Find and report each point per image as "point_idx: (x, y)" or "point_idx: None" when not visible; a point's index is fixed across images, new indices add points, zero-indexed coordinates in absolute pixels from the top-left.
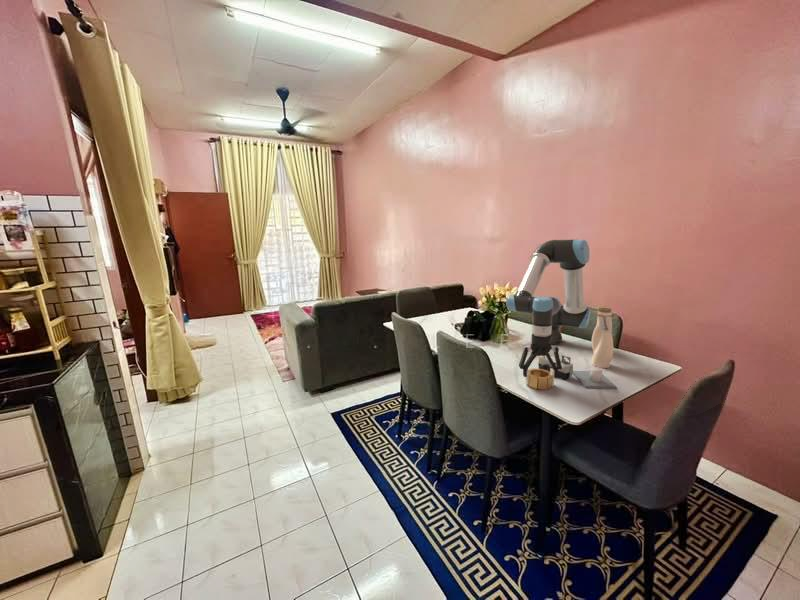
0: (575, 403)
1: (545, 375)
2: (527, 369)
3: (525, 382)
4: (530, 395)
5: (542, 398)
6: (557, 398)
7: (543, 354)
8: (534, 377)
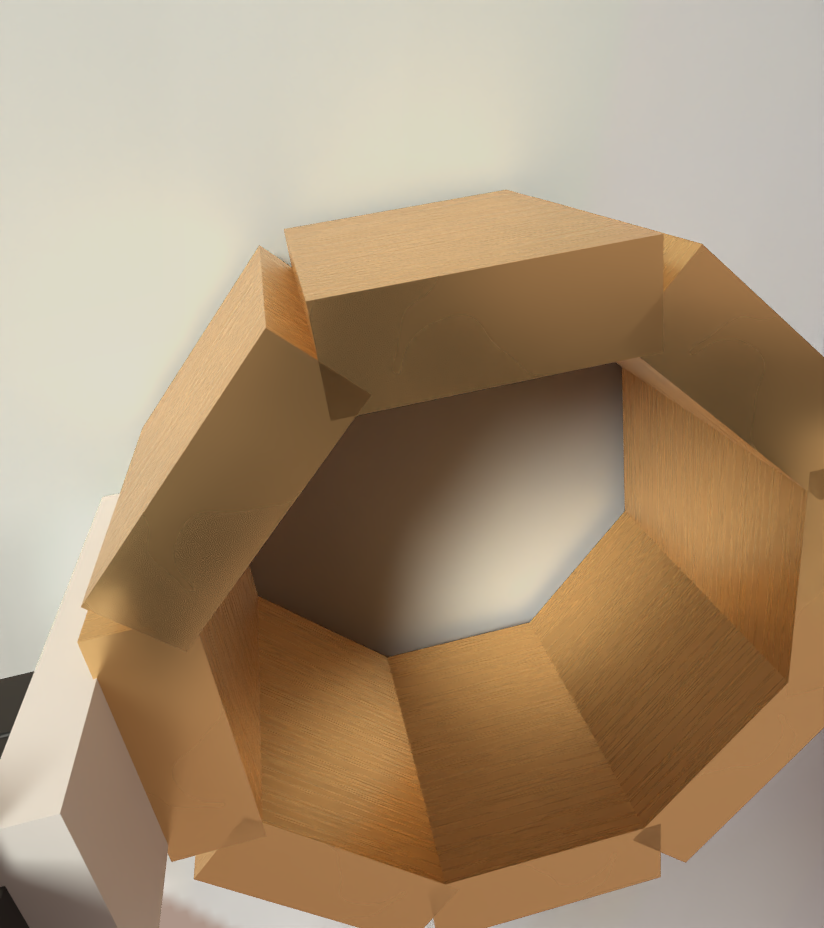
0: (807, 873)
1: (687, 408)
2: (77, 921)
3: None
4: (235, 895)
5: None
6: None
7: None
8: (335, 904)
